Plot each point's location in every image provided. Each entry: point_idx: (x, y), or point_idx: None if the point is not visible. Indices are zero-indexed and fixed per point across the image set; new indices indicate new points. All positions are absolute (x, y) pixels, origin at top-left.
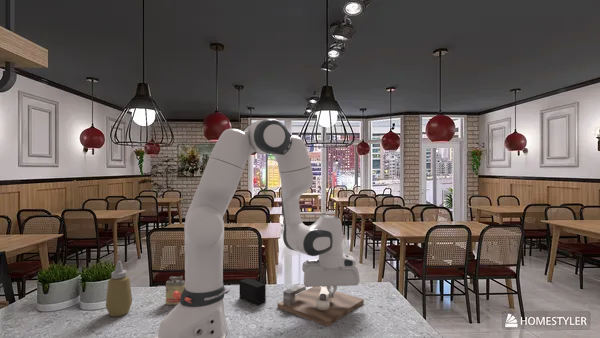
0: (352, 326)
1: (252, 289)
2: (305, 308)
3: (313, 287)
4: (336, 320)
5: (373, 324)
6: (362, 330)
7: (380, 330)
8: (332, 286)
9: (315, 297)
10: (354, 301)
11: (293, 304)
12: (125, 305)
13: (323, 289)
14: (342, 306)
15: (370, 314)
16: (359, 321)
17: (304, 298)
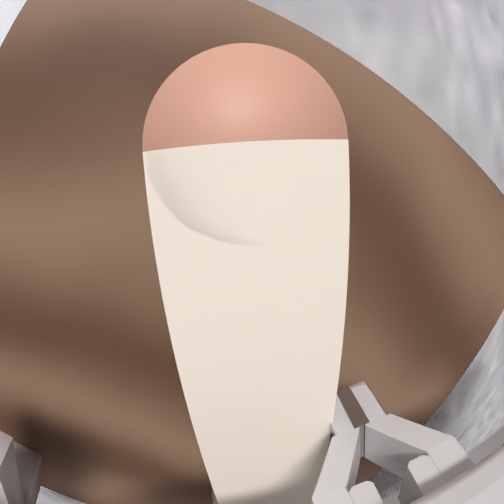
0: (395, 478)
1: None
2: (142, 497)
3: (29, 15)
4: None
5: (470, 428)
6: None
7: (470, 445)
8: (406, 471)
9: (123, 335)
10: (490, 301)
11: (41, 463)
12: None
13: (223, 354)
14: (400, 413)
15: (498, 361)
16: None
17: (37, 376)
